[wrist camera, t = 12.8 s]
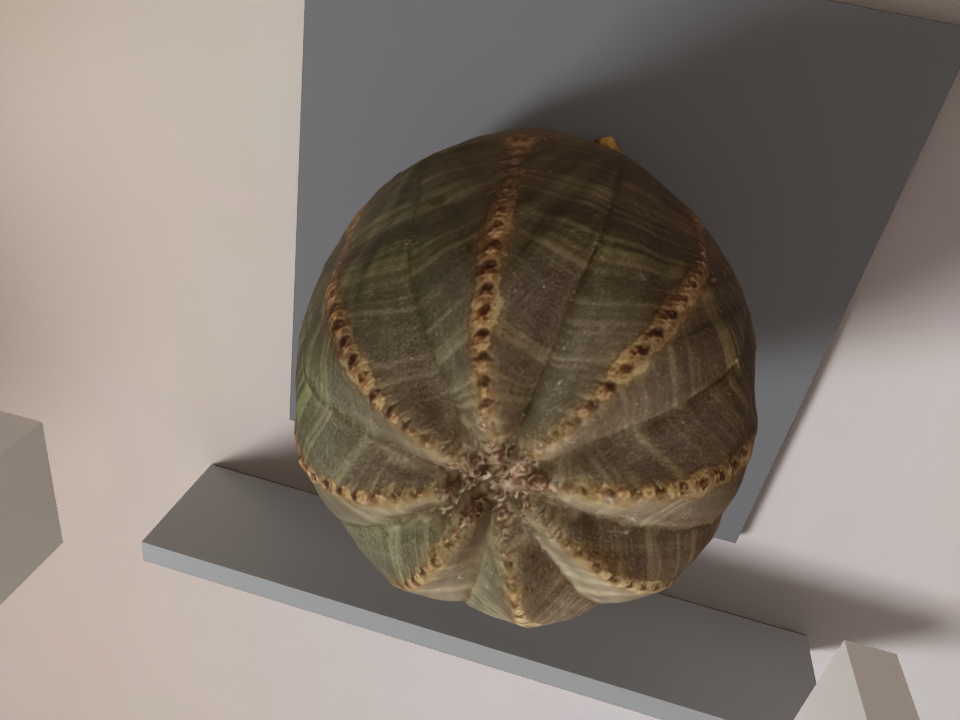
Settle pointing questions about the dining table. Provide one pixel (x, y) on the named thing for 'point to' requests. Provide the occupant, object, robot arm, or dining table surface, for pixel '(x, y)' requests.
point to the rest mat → (648, 135)
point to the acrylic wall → (473, 634)
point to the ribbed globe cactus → (527, 378)
